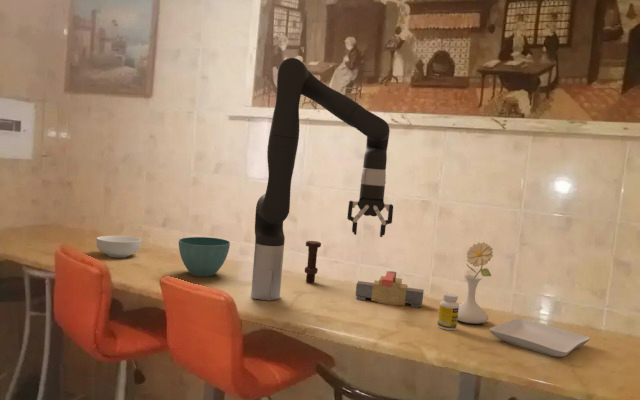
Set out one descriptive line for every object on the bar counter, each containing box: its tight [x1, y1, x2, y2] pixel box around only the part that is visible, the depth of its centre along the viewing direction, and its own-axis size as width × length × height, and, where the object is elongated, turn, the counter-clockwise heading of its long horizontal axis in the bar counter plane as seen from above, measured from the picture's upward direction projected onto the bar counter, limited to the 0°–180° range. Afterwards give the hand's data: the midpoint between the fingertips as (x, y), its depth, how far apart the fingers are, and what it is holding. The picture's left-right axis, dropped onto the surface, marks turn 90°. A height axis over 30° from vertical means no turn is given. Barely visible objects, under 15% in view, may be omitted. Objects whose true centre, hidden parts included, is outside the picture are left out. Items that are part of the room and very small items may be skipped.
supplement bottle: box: [437, 292, 460, 331], centre depth 163 cm, size 5×5×10 cm
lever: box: [381, 270, 397, 287], centre depth 181 cm, size 16×3×3 cm, turn 167°
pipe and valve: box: [355, 275, 425, 309], centre depth 187 cm, size 7×22×8 cm, turn 77°
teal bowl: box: [178, 236, 231, 278], centre depth 203 cm, size 18×18×12 cm
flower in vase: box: [457, 242, 494, 325], centre depth 170 cm, size 13×11×25 cm
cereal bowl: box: [95, 235, 142, 259], centre depth 223 cm, size 17×17×7 cm
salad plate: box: [488, 317, 591, 358], centre depth 156 cm, size 21×21×3 cm
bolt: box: [304, 240, 322, 284], centre depth 205 cm, size 6×5×15 cm
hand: (368, 235), depth 176 cm, fingers open, 7 cm apart
